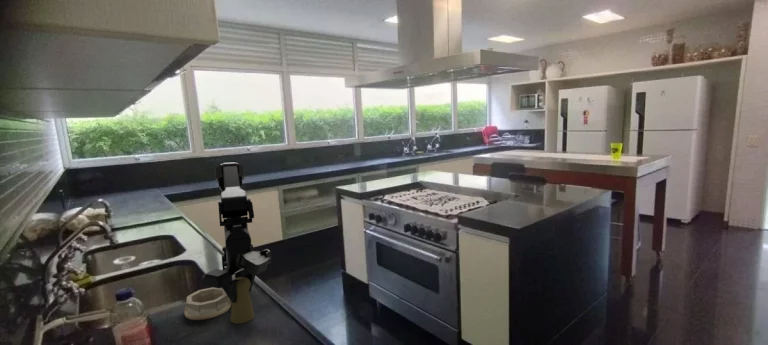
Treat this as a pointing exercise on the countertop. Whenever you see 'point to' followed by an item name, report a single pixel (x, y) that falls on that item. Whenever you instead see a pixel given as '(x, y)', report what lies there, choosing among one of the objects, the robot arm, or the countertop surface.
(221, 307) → the dock socket
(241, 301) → the olive brown tapered peg
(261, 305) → the countertop surface
